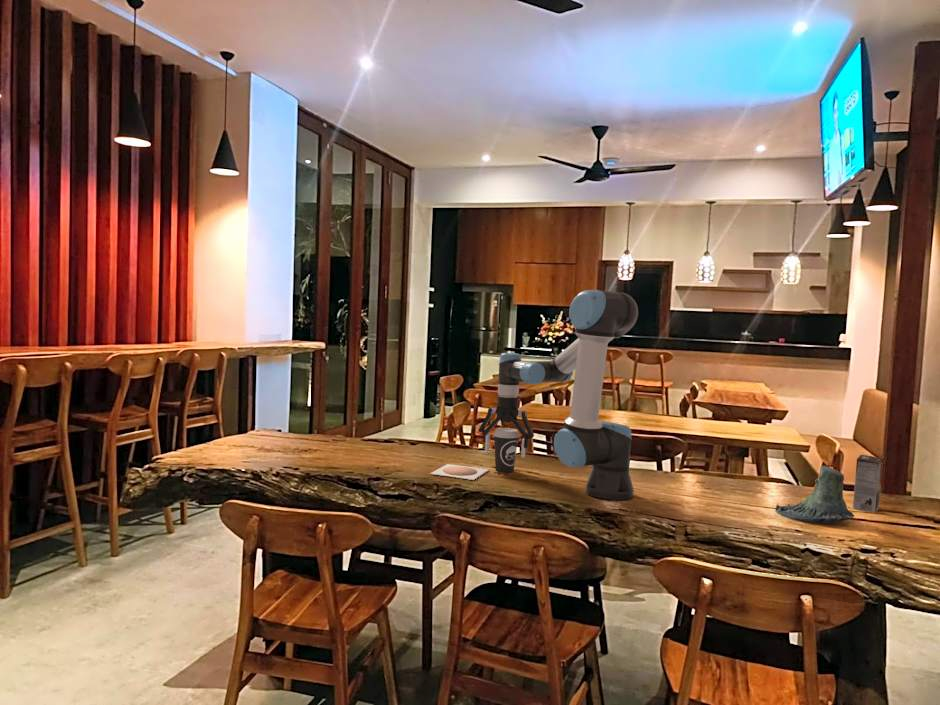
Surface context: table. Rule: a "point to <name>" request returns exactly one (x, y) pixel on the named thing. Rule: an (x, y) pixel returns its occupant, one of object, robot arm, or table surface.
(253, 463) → the table surface
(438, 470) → the coaster mat
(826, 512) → the tree stump
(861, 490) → the coffee box
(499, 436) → the coffee cup
